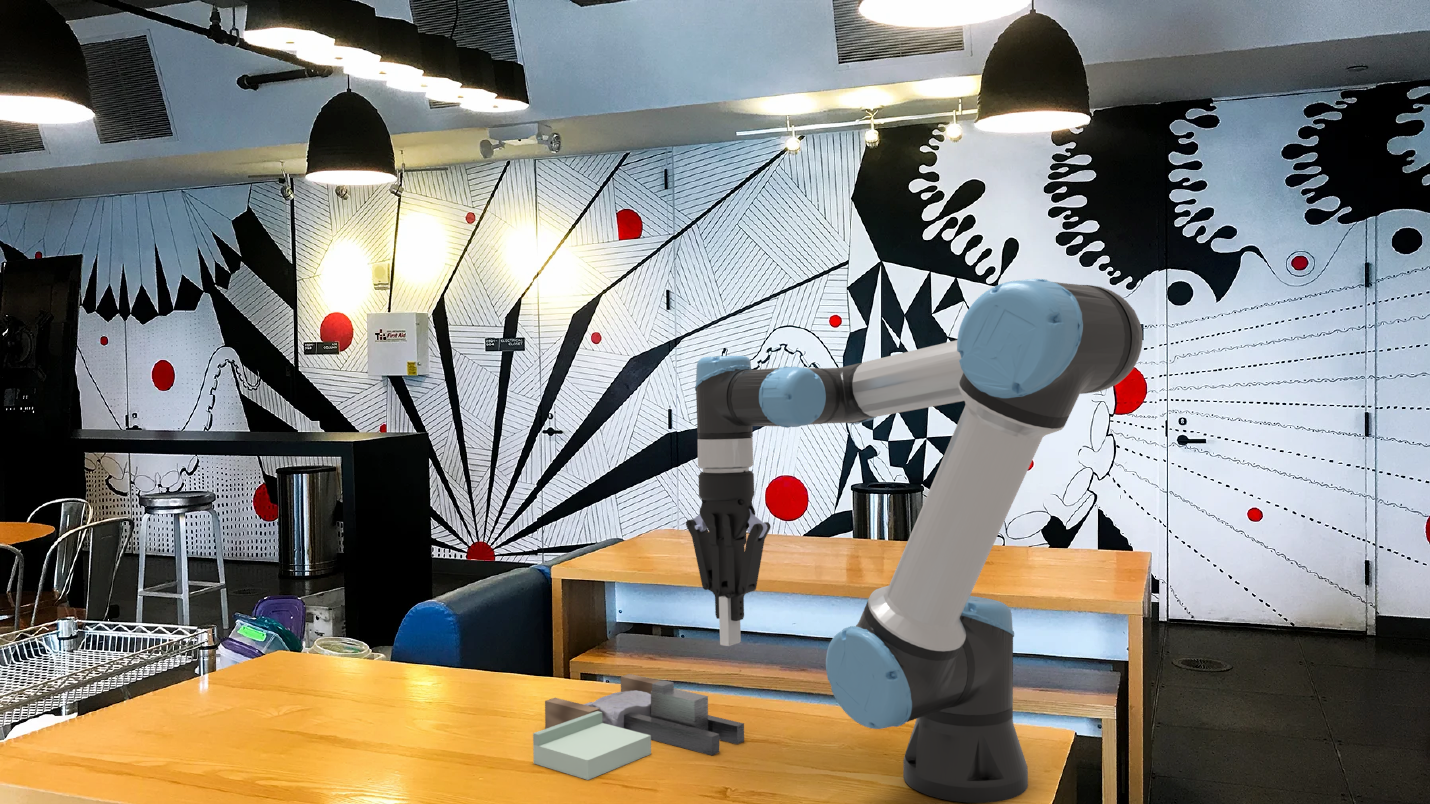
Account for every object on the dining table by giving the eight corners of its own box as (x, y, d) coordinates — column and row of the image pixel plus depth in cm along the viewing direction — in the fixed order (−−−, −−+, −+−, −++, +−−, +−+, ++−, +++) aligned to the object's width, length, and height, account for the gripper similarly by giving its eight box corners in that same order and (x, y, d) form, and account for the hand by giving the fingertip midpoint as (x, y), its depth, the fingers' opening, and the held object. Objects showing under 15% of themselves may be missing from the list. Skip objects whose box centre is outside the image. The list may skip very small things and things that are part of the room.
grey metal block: (708, 738, 154) (707, 688, 154) (694, 744, 152) (694, 693, 152) (664, 727, 159) (664, 679, 159) (651, 733, 157) (650, 684, 157)
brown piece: (673, 709, 168) (672, 683, 168) (589, 740, 154) (589, 712, 154) (629, 699, 173) (629, 673, 173) (545, 728, 159) (545, 700, 159)
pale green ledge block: (651, 753, 148) (650, 724, 148) (587, 780, 139) (587, 748, 139) (597, 739, 154) (597, 710, 154) (533, 763, 145) (533, 733, 145)
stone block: (567, 739, 161) (617, 738, 155) (563, 705, 161) (613, 703, 155) (622, 721, 170) (671, 719, 164) (618, 689, 171) (666, 687, 165)
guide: (744, 741, 153) (744, 723, 153) (712, 755, 147) (712, 736, 147) (657, 719, 163) (657, 703, 163) (624, 732, 157) (623, 715, 157)
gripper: (781, 469, 148) (785, 644, 148) (705, 467, 156) (710, 633, 156) (748, 472, 142) (753, 655, 142) (671, 470, 150) (675, 643, 150)
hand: (730, 643), depth 149 cm, fingers closed
